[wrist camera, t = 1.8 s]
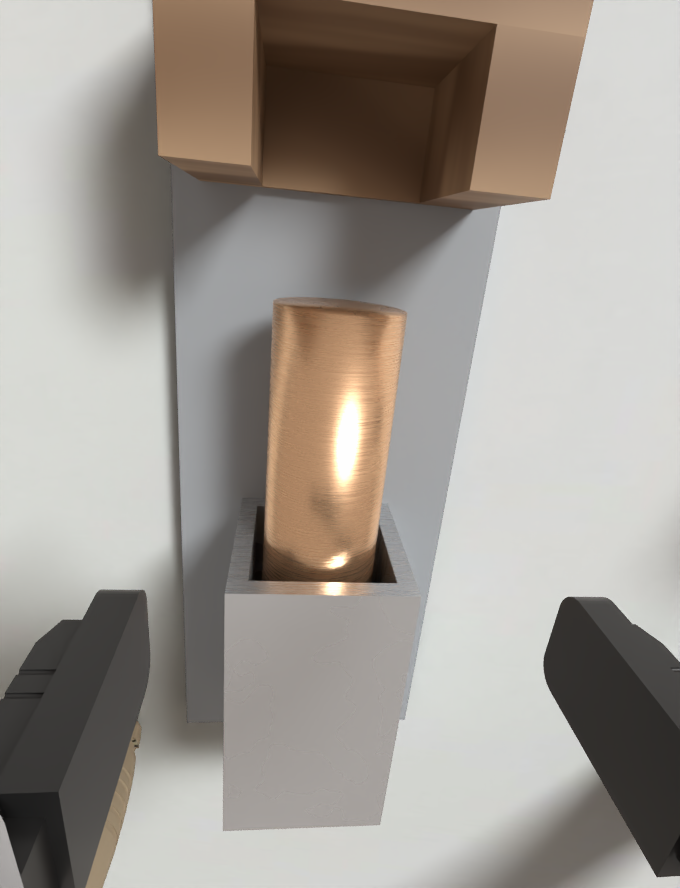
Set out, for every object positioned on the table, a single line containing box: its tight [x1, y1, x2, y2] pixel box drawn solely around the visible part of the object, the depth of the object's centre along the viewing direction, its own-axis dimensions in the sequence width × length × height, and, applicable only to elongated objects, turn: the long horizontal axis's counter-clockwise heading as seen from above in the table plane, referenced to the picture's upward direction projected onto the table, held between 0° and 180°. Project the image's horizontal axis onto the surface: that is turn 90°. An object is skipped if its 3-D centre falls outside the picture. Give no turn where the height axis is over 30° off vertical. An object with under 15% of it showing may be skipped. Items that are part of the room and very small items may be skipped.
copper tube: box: [262, 297, 407, 583], centre depth 20 cm, size 18×4×4 cm, turn 175°
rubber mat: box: [171, 163, 501, 722], centre depth 22 cm, size 34×12×1 cm, turn 175°
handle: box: [85, 721, 141, 888], centre depth 22 cm, size 5×6×15 cm
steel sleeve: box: [223, 498, 421, 831], centre depth 22 cm, size 12×7×7 cm, turn 175°
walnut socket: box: [153, 0, 594, 210], centre depth 15 cm, size 6×10×6 cm, turn 85°
